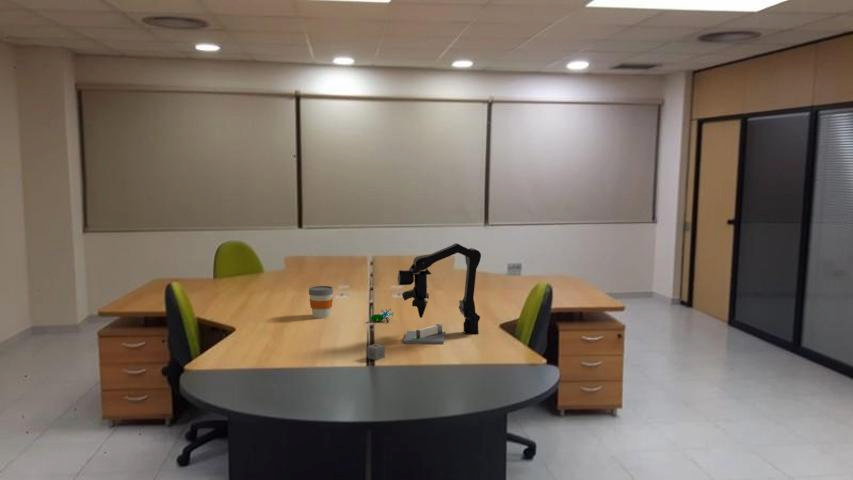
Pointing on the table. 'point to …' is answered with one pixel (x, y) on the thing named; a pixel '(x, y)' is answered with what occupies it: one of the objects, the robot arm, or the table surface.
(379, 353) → the dice cube
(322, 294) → the reusable coffee cup
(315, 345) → the table surface
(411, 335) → the plate
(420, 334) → the light grey rounded bar
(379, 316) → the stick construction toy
